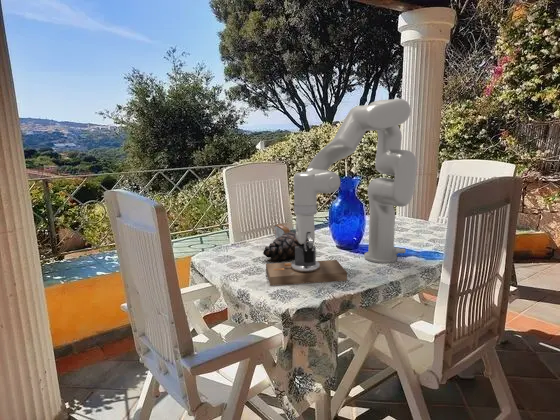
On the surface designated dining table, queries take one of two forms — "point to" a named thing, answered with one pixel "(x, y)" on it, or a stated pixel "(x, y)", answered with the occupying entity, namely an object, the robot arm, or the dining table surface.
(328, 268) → the brown wooden board
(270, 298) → the dining table surface
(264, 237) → the dining table surface
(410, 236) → the dining table surface
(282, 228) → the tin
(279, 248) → the pine cone
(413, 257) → the dining table surface
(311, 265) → the dial knob
